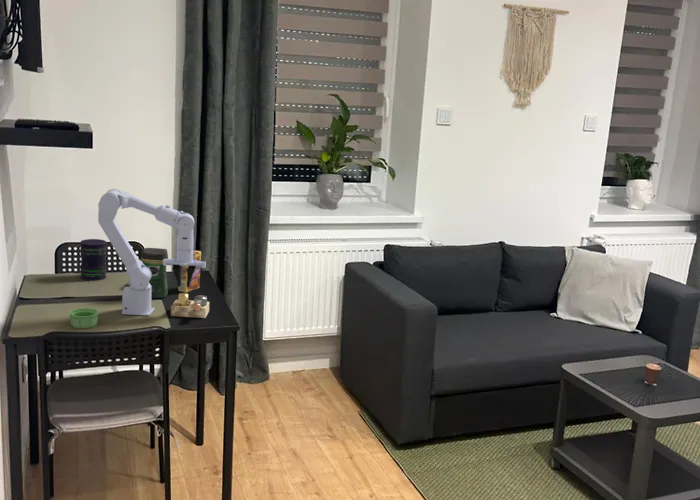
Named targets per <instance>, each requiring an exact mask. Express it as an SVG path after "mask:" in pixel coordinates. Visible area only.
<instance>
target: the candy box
mask: <svg viewBox="0 0 700 500" xmlns="http://www.w3.org/2000/svg"><path fill="white" fill-rule="evenodd" d="M193 260H197V261H202V251H201V250H194V249H193ZM187 268H188V267H187V266H182V271H181V286H180V287H178V286H177V291H178V292H180V293H187V294H188V292H192V291H195V290H197V289H200V278H201V267H196V269H195V271H194V273H193V276H192V279H191V282H190V286H189V287H187Z"/></svg>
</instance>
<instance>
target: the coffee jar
mask: <svg viewBox="0 0 700 500" xmlns="http://www.w3.org/2000/svg"><path fill="white" fill-rule="evenodd" d="M168 252H169V251H168V249H167V248H159V247H157V248H156V247H145V248H143V250H142V252H141V259H140V260H141V261H142V263H143V264H144V265H145V266H146V267H148V268H149V269H150V271H151V273H152V276H151V279H150V280H149V283H150V285H151V286H152V291H151V299H162V298H166V297H167V296H168V293H169V291H168V290H169V288H168V279H167V278H168V277H167V265H166V266H164V265H163V260H164V259H169V254H168Z"/></svg>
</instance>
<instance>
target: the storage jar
mask: <svg viewBox="0 0 700 500" xmlns="http://www.w3.org/2000/svg"><path fill="white" fill-rule="evenodd" d="M79 251H80V257H81V258H80V262H81V264H80V267H79V268H80V269H79V270H80V271H79V272H80V279H81V280H83V281H89V282H98V281H103V280H105V279H107V264H106V261H107V260H106V259H107V258H106V256H107V241H106V240H103V239H100V238H99V239H98V238H97V239H96V238H88V239H87V238H86V239H83V240H81V241H80V250H79Z"/></svg>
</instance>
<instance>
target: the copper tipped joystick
mask: <svg viewBox="0 0 700 500" xmlns="http://www.w3.org/2000/svg"><path fill="white" fill-rule="evenodd" d="M193 298H194V300H193V301H194V306H193V311H195V312H199V311H200V308H201V306H206V305H207V302H208V296H207V295H202V294H201V295H199V294H198V295H195V296H194V297H193Z"/></svg>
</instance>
